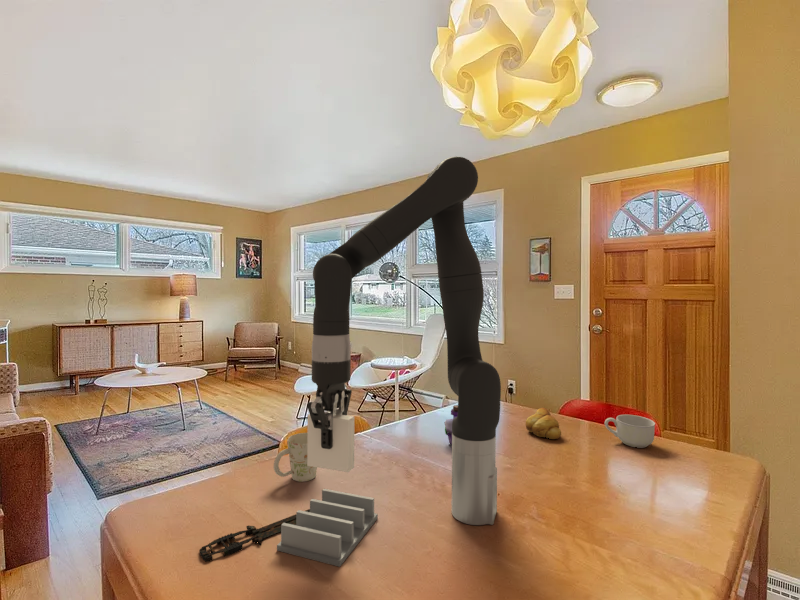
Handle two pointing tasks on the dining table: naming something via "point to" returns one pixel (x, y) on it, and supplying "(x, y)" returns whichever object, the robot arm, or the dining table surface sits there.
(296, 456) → the mug
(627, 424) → the teacup
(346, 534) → the dish rack
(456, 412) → the potion bottle
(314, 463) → the cream rectangular block
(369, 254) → the robot arm
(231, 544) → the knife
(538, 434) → the bread roll
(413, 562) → the dining table surface
